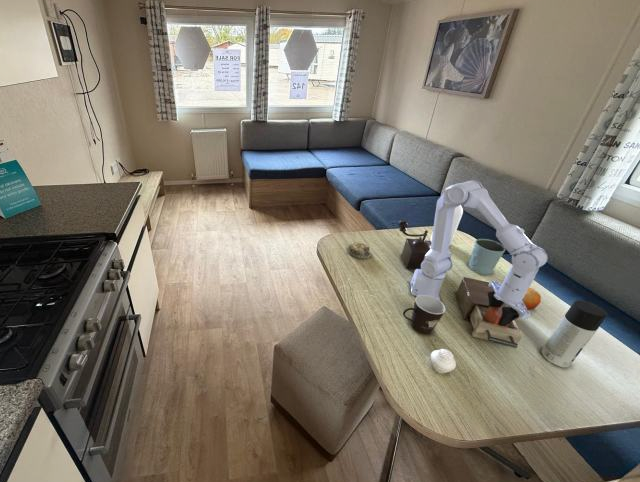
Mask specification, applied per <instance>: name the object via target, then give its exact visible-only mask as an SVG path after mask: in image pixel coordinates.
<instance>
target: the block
mask: <svg viewBox="0 0 640 482" xmlns="http://www.w3.org/2000/svg"><path fill="white" fill-rule="evenodd" d="M501 316H502V307H489V308H488V310H487V312H486V314H485V316H484V317H485V319H486V320H487V321H488V322H489V323H491V324H495V325H499V321H500V318H501ZM509 324H510V323H509ZM509 324H508V325H509ZM508 325H507V326H503V327H508ZM499 326H500V325H499Z"/></svg>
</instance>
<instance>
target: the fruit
mask: <svg viewBox="0 0 640 482" xmlns="http://www.w3.org/2000/svg"><path fill="white" fill-rule="evenodd" d="M541 300H542V295H541V294H540V293H539V292H538V291H537V290H536V289H534V288H531V287H529V288H528V290H527V292H526V294H525V295H524V297H523V299H522V301H523V303H524V305H525V307H526V308H527V310H528V311H532V310H535V309H536V308H537V307H538V306H539V305H540V304H541Z"/></svg>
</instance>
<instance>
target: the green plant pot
mask: <svg viewBox="0 0 640 482" xmlns="http://www.w3.org/2000/svg"><path fill="white" fill-rule="evenodd" d="M506 250H507V249H506V248H505V247H504V246H503V244H502V243H501V242H498V241H496V240H493V239H488V238H478V239H476V240H475V242H474V245H473V249H472V253H471V255H470V259H469V262H468V268H469V269H470V270H472V271H473V272H475V273H477V274H480V275H485V276H486V275H491V274H492V273H493V272H494V269H495V268H496V266H497V265H498V263H499V261H500V259H501V258H502V257H503V254H504V253H505V251H506Z"/></svg>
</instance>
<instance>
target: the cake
mask: <svg viewBox="0 0 640 482" xmlns="http://www.w3.org/2000/svg"><path fill="white" fill-rule="evenodd" d="M370 251H371V250H370V246H369V244H367V243H366V242H362V241H361V242H360V241H356V242H352V243H351V244H350V245H349V248H348V250H347V253H348V254H349V255H351V256H352V257H354V258H357V259H368V258H370V257H371V255H372V253H371V252H370Z"/></svg>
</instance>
